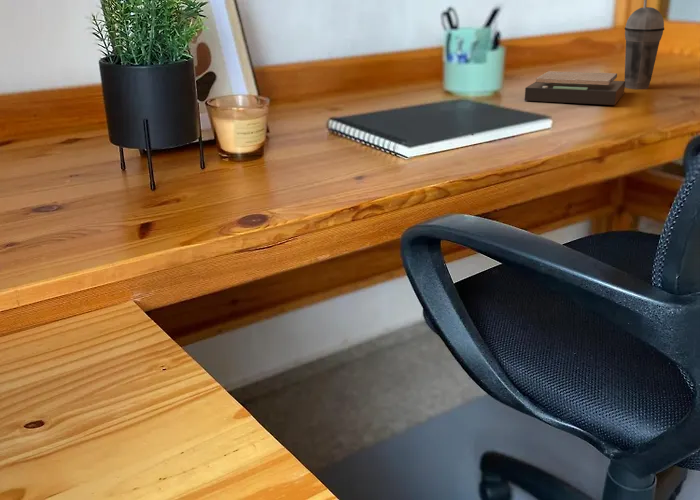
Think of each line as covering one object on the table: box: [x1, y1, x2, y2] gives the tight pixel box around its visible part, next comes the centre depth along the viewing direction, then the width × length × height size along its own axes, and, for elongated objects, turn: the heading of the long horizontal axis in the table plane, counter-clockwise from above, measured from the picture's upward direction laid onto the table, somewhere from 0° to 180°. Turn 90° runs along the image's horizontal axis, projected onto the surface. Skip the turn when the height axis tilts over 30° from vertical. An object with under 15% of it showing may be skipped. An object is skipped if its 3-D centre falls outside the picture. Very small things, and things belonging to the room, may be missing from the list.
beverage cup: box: [623, 0, 665, 90], centre depth 139 cm, size 7×7×20 cm
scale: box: [524, 80, 626, 106], centre depth 135 cm, size 16×14×3 cm
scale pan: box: [535, 70, 618, 85], centre depth 134 cm, size 13×11×1 cm
